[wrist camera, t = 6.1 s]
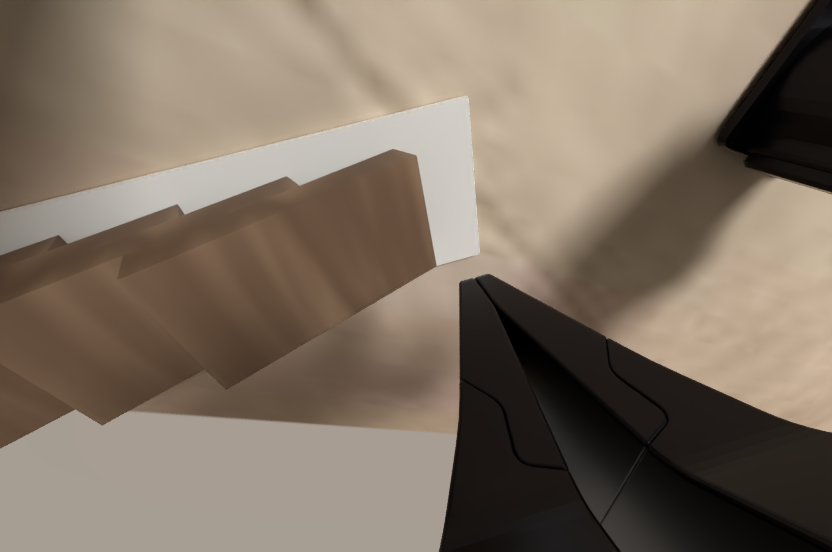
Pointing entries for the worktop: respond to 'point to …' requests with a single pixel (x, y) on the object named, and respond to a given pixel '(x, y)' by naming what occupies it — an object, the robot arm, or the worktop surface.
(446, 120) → the rack
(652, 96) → the worktop surface
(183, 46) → the worktop surface
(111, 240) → the domino
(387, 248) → the domino
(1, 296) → the domino
